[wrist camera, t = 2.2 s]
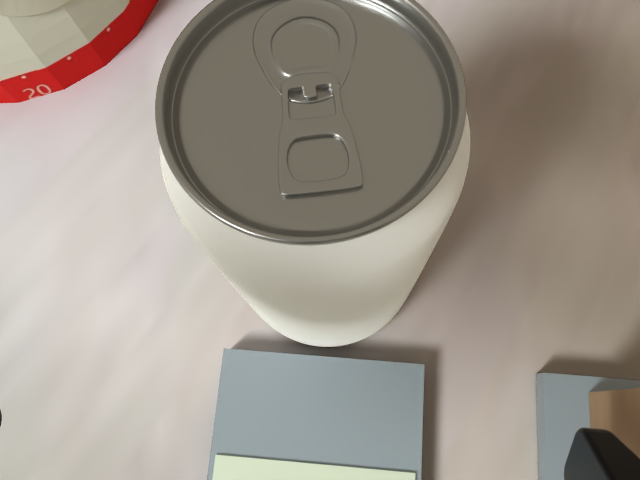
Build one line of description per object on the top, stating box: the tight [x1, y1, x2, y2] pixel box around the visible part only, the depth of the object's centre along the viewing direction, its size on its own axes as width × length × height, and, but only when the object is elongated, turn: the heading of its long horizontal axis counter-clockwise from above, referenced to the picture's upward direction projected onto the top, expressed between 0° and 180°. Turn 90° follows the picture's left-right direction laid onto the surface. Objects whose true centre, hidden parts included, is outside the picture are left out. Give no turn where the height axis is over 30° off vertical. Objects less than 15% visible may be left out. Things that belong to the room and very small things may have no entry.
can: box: [155, 0, 471, 347], centre depth 16 cm, size 6×6×12 cm
